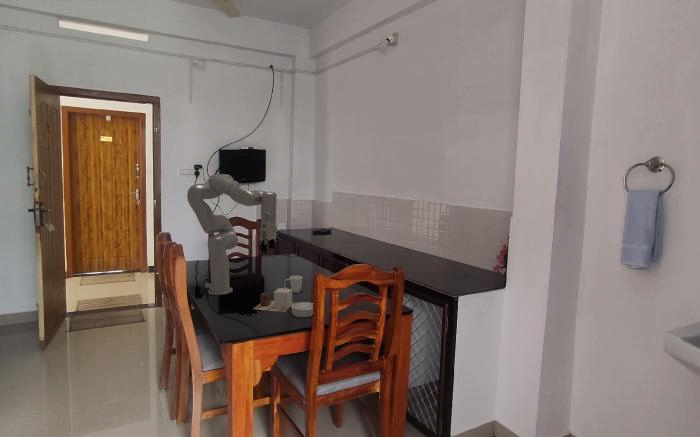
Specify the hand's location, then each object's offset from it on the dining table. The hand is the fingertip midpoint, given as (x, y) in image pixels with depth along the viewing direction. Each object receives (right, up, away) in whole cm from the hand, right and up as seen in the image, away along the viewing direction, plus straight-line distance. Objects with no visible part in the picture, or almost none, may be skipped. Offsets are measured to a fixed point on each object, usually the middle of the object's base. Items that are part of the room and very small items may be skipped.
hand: (267, 250), depth 217 cm
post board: (+5, -27, -11) cm, 30 cm away
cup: (+11, -24, +17) cm, 31 cm away
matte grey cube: (+10, -26, -12) cm, 30 cm away
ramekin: (+20, -29, -22) cm, 41 cm away
